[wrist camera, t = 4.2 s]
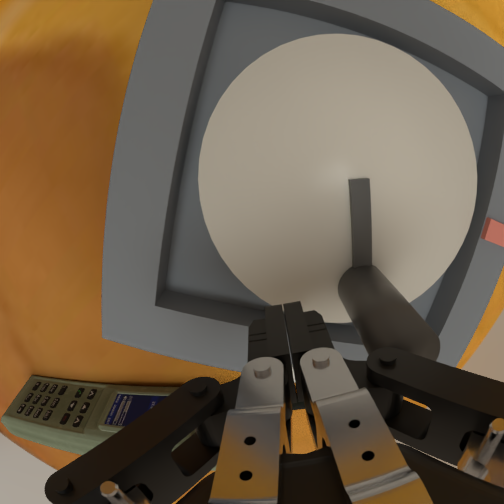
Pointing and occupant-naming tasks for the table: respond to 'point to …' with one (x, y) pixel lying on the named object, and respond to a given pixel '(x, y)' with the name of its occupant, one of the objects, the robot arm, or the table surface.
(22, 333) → the table surface
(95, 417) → the handheld radio
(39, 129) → the table surface
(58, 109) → the table surface
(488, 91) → the panel
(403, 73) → the dial
